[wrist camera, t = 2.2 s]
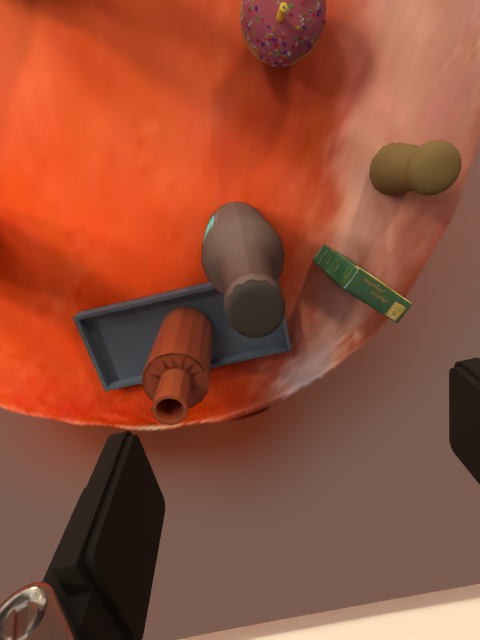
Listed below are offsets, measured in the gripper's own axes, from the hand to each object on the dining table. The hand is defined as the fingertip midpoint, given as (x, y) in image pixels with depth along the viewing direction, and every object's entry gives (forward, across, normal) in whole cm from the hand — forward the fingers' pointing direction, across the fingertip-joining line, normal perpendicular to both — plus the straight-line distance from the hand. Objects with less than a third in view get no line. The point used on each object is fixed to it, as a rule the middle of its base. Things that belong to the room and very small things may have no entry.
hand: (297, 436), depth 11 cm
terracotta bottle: (+40, +11, +12) cm, 43 cm away
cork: (+40, -20, -3) cm, 45 cm away
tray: (+40, +11, +12) cm, 43 cm away
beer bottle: (+40, +1, 0) cm, 40 cm away
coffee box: (+40, -12, +8) cm, 43 cm away
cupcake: (+40, -8, -20) cm, 46 cm away
